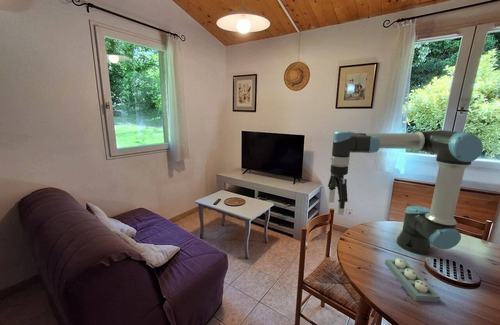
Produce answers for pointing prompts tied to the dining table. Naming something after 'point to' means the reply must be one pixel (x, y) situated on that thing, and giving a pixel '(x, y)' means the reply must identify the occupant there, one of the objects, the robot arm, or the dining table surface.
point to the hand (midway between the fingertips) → (335, 207)
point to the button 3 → (421, 286)
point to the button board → (412, 283)
